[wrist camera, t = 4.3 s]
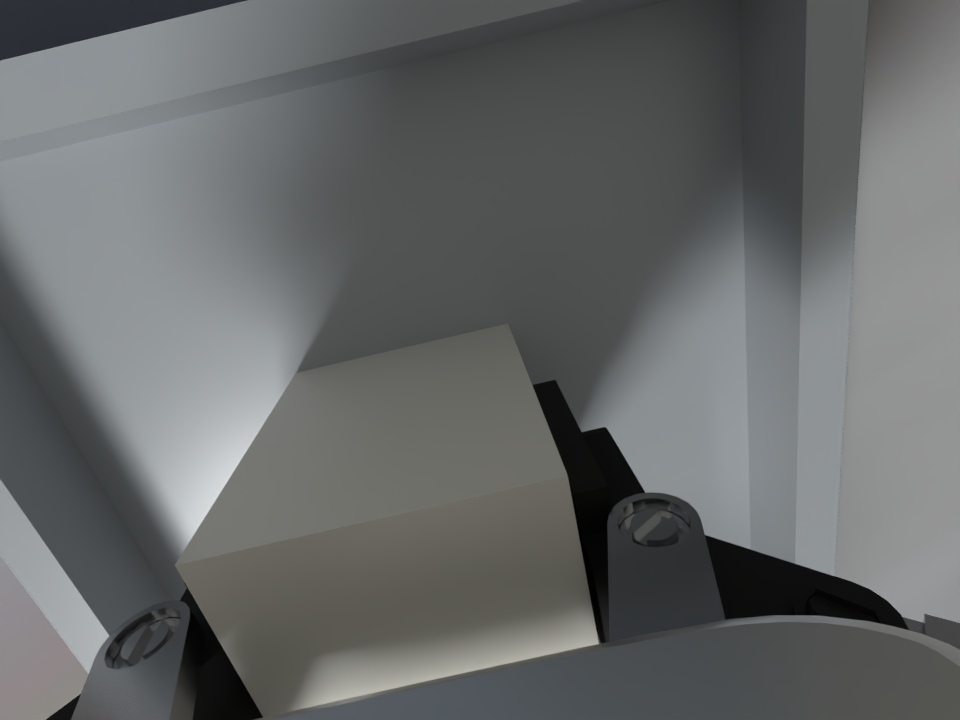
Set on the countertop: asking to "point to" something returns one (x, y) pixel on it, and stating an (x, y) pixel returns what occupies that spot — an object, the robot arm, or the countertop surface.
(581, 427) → the tray
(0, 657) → the countertop surface
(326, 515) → the stone block
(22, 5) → the countertop surface
